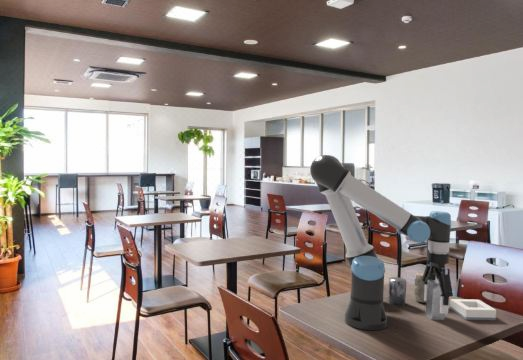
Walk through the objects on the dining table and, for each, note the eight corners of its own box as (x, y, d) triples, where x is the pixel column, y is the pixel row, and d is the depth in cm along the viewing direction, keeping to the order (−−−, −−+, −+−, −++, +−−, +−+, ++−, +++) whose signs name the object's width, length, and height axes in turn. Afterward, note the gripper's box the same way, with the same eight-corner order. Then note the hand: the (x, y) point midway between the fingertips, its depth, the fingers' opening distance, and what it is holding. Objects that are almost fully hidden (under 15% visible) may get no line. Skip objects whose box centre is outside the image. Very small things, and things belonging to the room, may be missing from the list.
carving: (418, 298, 184) (420, 271, 183) (434, 303, 178) (436, 275, 177) (410, 300, 180) (411, 273, 180) (425, 305, 174) (427, 277, 174)
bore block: (465, 319, 159) (465, 309, 159) (449, 308, 171) (450, 299, 171) (495, 320, 160) (496, 310, 160) (478, 309, 172) (478, 299, 172)
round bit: (391, 305, 173) (392, 281, 172) (385, 299, 180) (386, 277, 179) (407, 305, 173) (409, 282, 173) (401, 300, 180) (402, 277, 180)
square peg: (431, 319, 158) (433, 283, 158) (425, 314, 163) (427, 279, 163) (444, 320, 159) (446, 283, 158) (438, 315, 164) (440, 279, 163)
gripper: (465, 260, 147) (461, 319, 148) (433, 245, 172) (430, 296, 173) (444, 259, 147) (441, 318, 148) (415, 245, 172) (412, 296, 173)
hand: (435, 306), depth 161 cm, fingers open, 13 cm apart
